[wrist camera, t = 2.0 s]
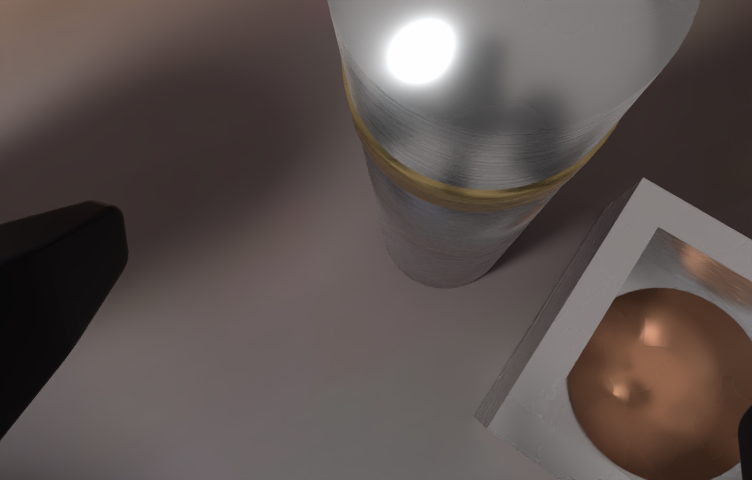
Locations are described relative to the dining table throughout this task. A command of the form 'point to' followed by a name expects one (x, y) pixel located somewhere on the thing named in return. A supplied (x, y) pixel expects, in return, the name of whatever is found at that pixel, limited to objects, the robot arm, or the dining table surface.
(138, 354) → the dining table surface
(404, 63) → the tube
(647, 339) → the white square flat box
